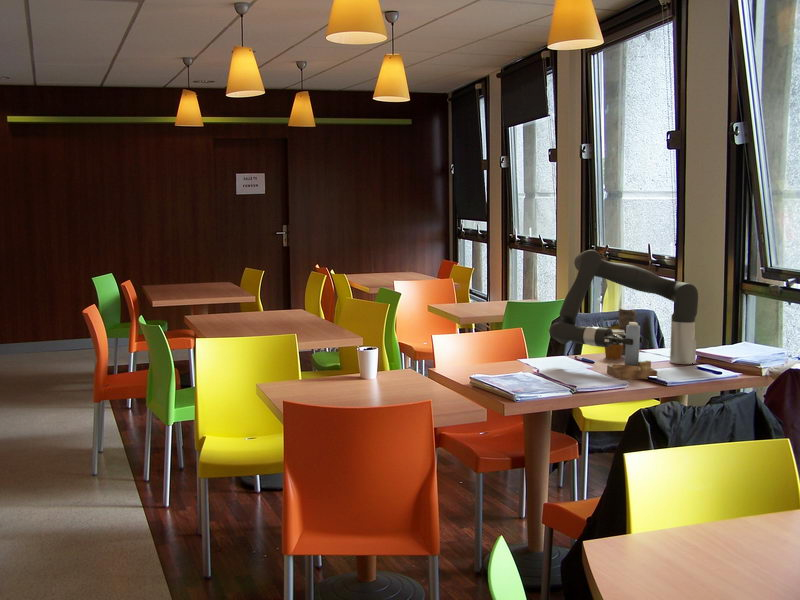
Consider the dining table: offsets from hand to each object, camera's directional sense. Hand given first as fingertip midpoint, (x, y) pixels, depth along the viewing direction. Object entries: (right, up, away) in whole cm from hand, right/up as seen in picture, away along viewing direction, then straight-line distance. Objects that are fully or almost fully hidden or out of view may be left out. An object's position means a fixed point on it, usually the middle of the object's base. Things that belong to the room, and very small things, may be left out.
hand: (637, 340), depth 314 cm
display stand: (-2, -13, +3) cm, 14 cm away
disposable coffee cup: (+2, -10, +42) cm, 43 cm away
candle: (+10, -9, +53) cm, 55 cm away
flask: (-2, -10, +2) cm, 11 cm away
